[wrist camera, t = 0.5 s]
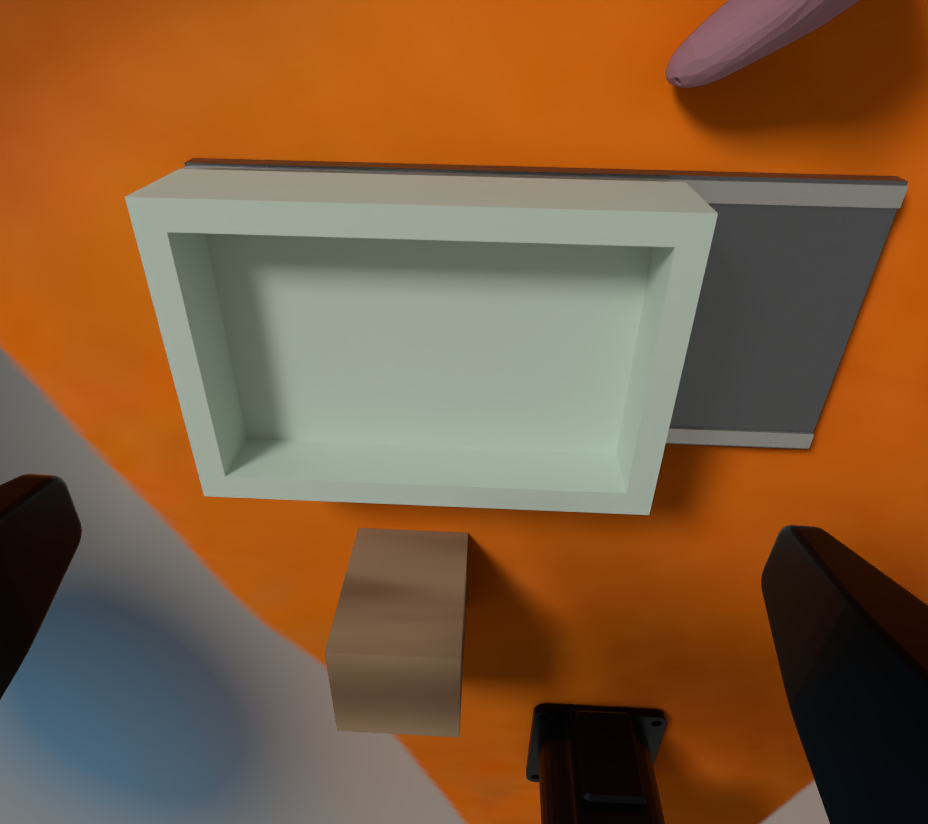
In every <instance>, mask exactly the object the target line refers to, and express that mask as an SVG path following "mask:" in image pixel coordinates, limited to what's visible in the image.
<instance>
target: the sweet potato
mask: <svg viewBox="0 0 928 824" xmlns="http://www.w3.org/2000/svg"><path fill="white" fill-rule="evenodd" d="M858 1H860V0H728V1H727V2H726V3H725V4H724V5H723V6H721V7H720V8H719V9H718V10H717V11H716V12H714V13H713V14H712V15H711V16H710V17H709V18H708V19H707V20H705V21H704V22H703V23H702V24H701V25H700V26H699V27H698V28H697V29H696V30H695V31H694V32H693V33H692V34H691V35H690V36H689V37H688V38H687V39H686V40H685V41H684V42H683V43H682V44H681V45H680V47H679V48H678V49H677V50H676V52H675V53H674V54H673V56H672V57H671V59H670V60H669V63H668V65H667V69H666V78H667V80H668V82H669V83H670V84H672V85H674V86H677V87H682V88H689V87H697V86H704V85H706V84H709V83H712V82H714V81H717V80H720V79H723V78H725V77H726V76H728V75H730V74H732V73H734V72H736V71H738V70H740V69H742V68H744V67H746V66H748V65H750V64H751V63H753V62H755V61H757V60H759V59H761V58H763V57H765V56H767V55H769V54H771V53H773V52H775V51H777V50H778V49H780V48H782V47H784V46H786V45H788V44H790V43H792V42H794V41H796V40H798V39H800V38H801V37H803V36H805V35H807V34H808V33H810V32H812V31H814V30H816V29H817V28H819V27H821V26H823V25H824V24H826V23H828V22H829V21H831V20H832V19H833V18H835V17H836V16H838V15H839V14H841V13H842V12H844V11H845V10H847V9H848V8H849V7H851V6H852V5H854V4H855V3H857V2H858Z"/></svg>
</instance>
